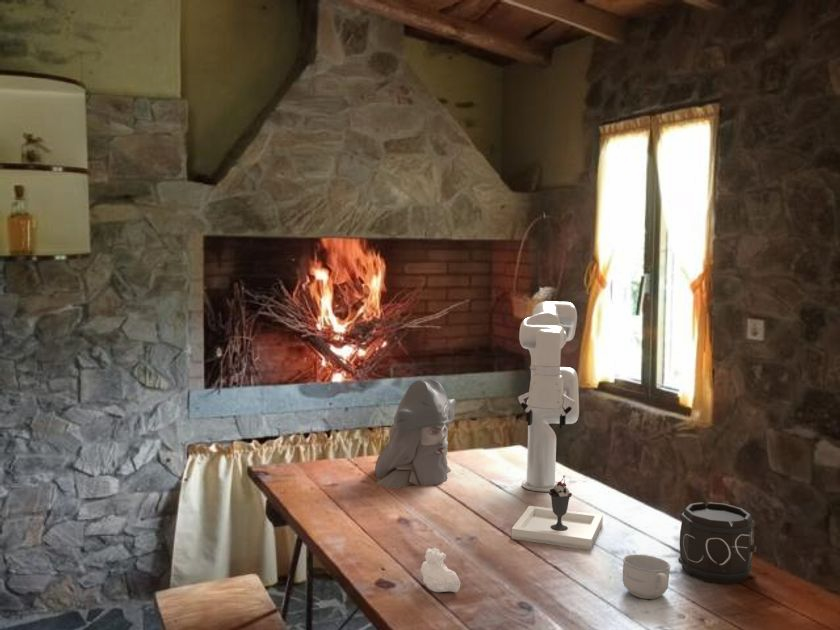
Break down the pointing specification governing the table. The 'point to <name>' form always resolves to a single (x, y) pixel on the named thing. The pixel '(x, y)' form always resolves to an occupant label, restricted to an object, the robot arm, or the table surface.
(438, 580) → the cream lumpy figure
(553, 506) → the sundae
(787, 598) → the table surface
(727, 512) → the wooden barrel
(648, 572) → the teacup
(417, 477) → the bust
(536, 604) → the table surface
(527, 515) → the tray
